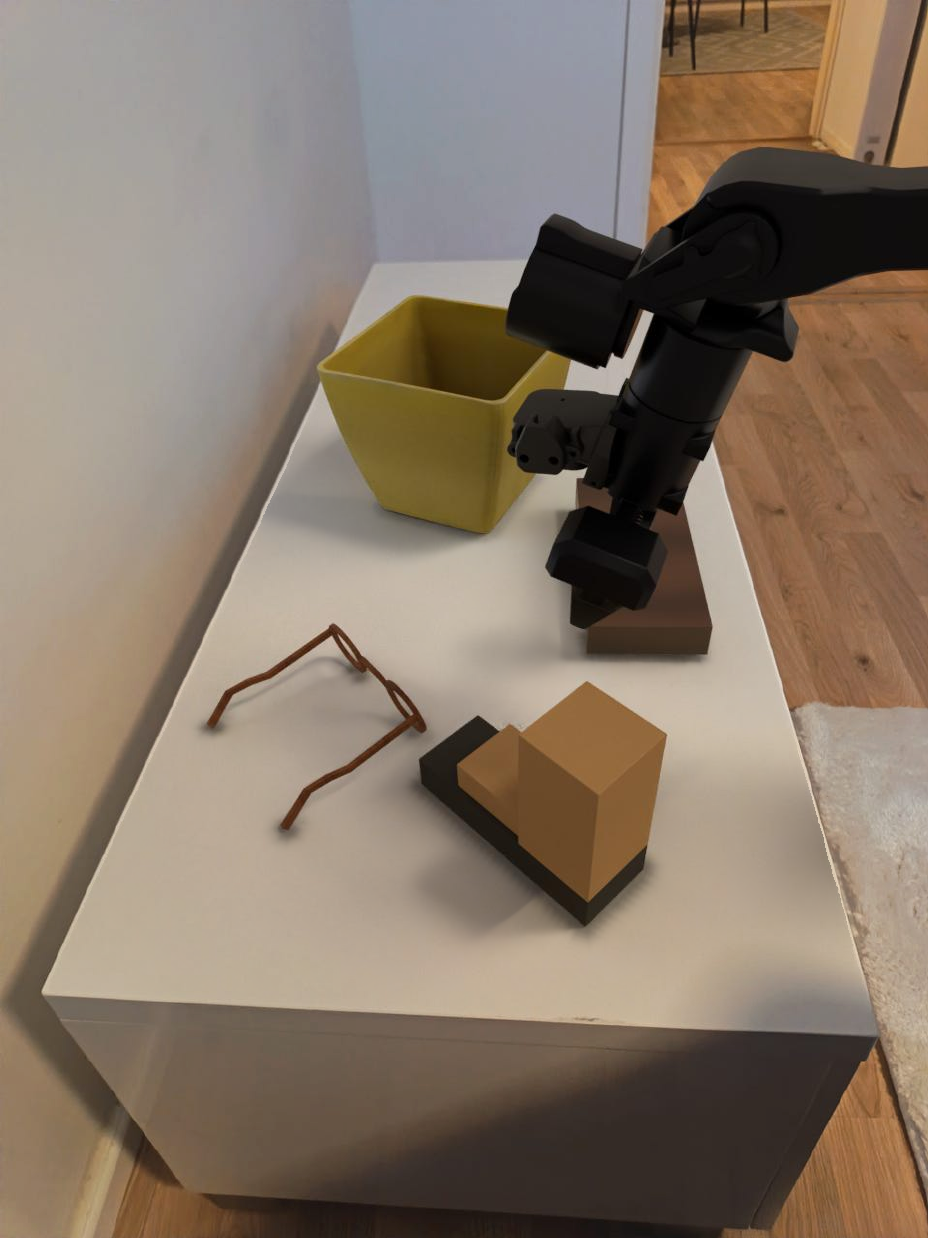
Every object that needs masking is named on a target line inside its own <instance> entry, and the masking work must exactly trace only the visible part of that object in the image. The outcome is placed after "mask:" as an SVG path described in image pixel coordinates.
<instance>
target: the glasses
mask: <svg viewBox="0 0 928 1238" xmlns="http://www.w3.org/2000/svg"><path fill="white" fill-rule="evenodd" d="M331 637H332V639H333V641H334V642H335V644H336V646H337V647H338V649H339V650H340V651H341V653H342V655H344V657H345V658H346V659H347V661H348V662H349V663H350V664H351V665H352V666H353V667H354V669H356V670H357V671H358V672H359V673H361V674H364V673H366V672H367V671H369V672H370V673H371V674H372V675H373V676H374V677H375V678H376V679H377V680H378V681H379V682H380V683H381V684H382V685H383V687H384V688H385V690H386V692H387V694H388V696H389V698H390V699H391V701H392V703H393V704H394V706H395V708H396V709H397V710H398V712H399V713H400V714H401V716H402V717H403V718H404V721H402V722H400V723H399V724H398V725H397V726H395V727H394V728H393V729H392V730H390V731H389V732H387V733H386V734H385V735H383V736H382V737H381V738H380V739H378V740H377V741H376V742H374V743H373V744H371V746H369V747H368V748H367V749H365V750H363V752H361V753H360V754H359V755H357V756H356V757H355V758H354V759H352V760H351V761H349V762H348V763H347V764H345V765H343V766H341V767H339V768H336V769H335V770H332V771H329V772H328V773H325V774H324V775H322V776H320V777H319V778H317V779H316V780H314V781H312V782H311V783H309V784H308V785H306V786H305V787H303V788H302V789H301V792H300V793H299V795H298V796H297V798H296V799H295V801H294V803H293V804H292V806H291V808H290V809H289V811H288V812H287V813H286V816H285V817H284V819H283V820H282V822H281V824H280V825H279V826H280V828H281V829H283V830H287V831H289V830H290V828H291V827H292V826H293V824H294V822H295V820H296V819H297V817H298V816H299V814H300V812H301V811H302V809H303V808H304V807H305V805H306V803H307V801H308V800H309V798H310V797H311V795H312V794H313V793H314V792H316V791H317V790H319V789H321V788H322V787H324V786H326V785H328V784H330V783H331V782H333V781H335V780H337V779H340V778H342V777H344V776H346V775H348V774H351V773H352V772H354V771H355V770H356V769H358V767H361V766H362V765H363V764H364V763H365V762H367V761H368V760H369V759H371V758H372V757H373V756H374V755H376V754H377V753H378V752H380V751H381V750H382V749H384V748H385V747H387V746H388V745H389V744H390V743H391V742H393V741H394V740H395V739H397V738H398V737H399V736H400V735H402V734H403V733H404V732H406V731H407V730H408V729H409V728H411V727H412V728H413V729H414V730H416V731H417V732H418V733H420V734H424V733H425V732H426V731H427V729H428V728H427V725H426V722H425V720H424V717H423V716H422V714H421V712H420V711H419V709H418V708H417V706H416V705H415V703H414V702H413V701H412V699H411V698H410V697H409V696H408V695H407V693H405V691H404V690H403V689H402V688H401V687H400V686H399V685H398V684H397V683H395V682H394V681H393V680H392V679H386V677H385V676H384V675H383V674H382V673H381V672H380V671H379V670H378V668H376V667H375V666H374V665H373V663H371V661H369V659H367V658H366V657H365V656H363V655H362V653H361V651H360V650H359V649H358V648H357V646H356V645H355V644H354V642H353V640H352V639H350V637H349V636H348V635H347V634H346V632H344V630H343V629H342V628H340V627H339V625H337V624H336V623H334V622H331V623H330V624H329V625H328V628H326V629H325V630H324V631H322V632H321V633H319V634H318V635H317V636H315V637H313V638H312V639H311V640H310V641H309V642H306V643H305V644H304V645H302V646H301V647H300V648H298V649H296V650H295V651H293V652H292V653H291V654H289V655H288V656H287V657H285V658H284V659H283V660H281V661H280V662H278V663H277V664H275V665H274V666H273V667H271V668H269V669H268V670H266V671H265V672H262V673H258V674H256V675H253V676H251V677H248V678H245V679H244V680H242V681H240V682H238V683H236V684H235V685H233V686H231V687H229V688H227V689H226V690H224V691H223V693H222V695H221V697H220V700H219V701H218V702H217V704H216V706H215V708H214V709H213V711H212V713H211V715H210V716H209V718H208V720H207V722H206V726H207V727H211V728H215V727H216V725H218V722H219V720H220V718H221V717H222V715H223V713H224V712H225V710H226V708H227V706H228V704H229V703H230V701H231V700H232V698H233V696H234V695H236V694H237V693H239V692H242V691H244V690H245V689H248V688H249V687H252V686H253V685H254V686H255V685H256V684H259V683H262V682H265V681H268V680H271V679H272V678H274V677H276V676H277V675H278V674H279V673H281V672H283V671H284V670H285V669H287V668H288V667H290V666H291V665H292V664H294V663H295V662H297V661H299V660H300V659H302V657H304V656H305V655H307V654H309V653H310V652H311V651H312V650H314V649H315V648H317V647H318V646H320V645H321V644H322V643H324V642H326V641H327V640H328V639H329V638H331ZM340 638H341V639H342V640H343V641H344V643H345V644H346V645H347V647H348V648H349V649H350V651H351V653H353V655H354V657H355V658H354V657H353V656H352V654H351V653H350V652H349V651H348V649H347V647H346V646H345V645H344V643H343V642H342V640H341V639H340ZM396 694H397V695H396ZM398 696H399V697H400V698H401V700H402V701H403V702H404V703H405V705H406V706H407V708H409V710H410V712H411V713H412V714H409V712H408V711H407V710H406V709H405V707H404V706H403V705H402V703H401V702H400V699H398Z"/></svg>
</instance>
